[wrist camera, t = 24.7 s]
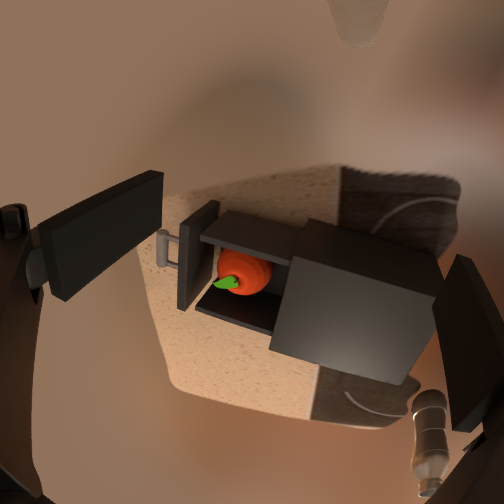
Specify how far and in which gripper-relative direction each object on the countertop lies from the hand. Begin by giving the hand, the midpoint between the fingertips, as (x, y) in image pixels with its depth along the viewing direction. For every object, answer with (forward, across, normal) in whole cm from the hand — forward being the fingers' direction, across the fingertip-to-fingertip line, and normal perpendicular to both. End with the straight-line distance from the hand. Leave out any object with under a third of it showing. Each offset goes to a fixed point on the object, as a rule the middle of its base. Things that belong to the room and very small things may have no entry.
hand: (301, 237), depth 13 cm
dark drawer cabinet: (+27, +7, -17) cm, 32 cm away
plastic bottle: (+27, +29, -36) cm, 53 cm away
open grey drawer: (+26, -9, -17) cm, 32 cm away
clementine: (+25, -8, -16) cm, 31 cm away
